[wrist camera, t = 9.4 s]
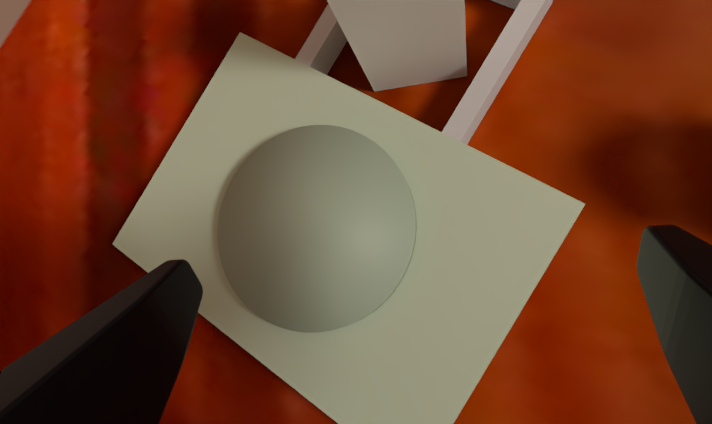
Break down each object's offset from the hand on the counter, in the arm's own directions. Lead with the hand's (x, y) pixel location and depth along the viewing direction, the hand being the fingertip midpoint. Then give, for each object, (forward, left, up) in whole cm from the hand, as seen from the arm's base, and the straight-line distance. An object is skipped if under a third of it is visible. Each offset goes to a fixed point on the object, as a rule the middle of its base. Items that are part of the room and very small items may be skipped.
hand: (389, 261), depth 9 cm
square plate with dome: (+3, +6, -14) cm, 15 cm away
